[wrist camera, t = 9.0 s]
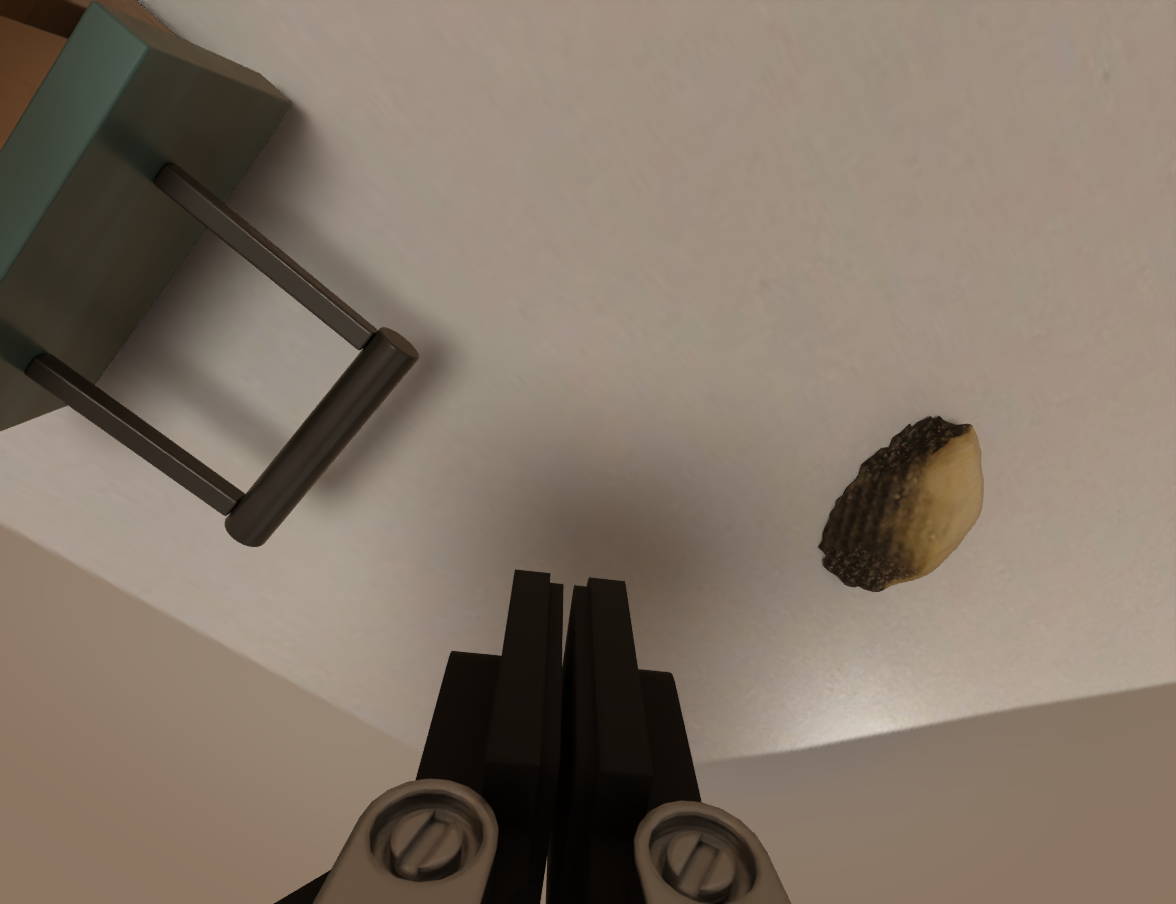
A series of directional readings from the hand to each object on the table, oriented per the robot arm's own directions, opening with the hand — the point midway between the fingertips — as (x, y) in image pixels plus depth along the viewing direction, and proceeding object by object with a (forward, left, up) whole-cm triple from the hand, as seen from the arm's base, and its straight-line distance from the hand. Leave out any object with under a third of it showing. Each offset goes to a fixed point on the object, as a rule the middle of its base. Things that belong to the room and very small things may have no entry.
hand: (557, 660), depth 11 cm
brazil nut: (+5, -11, -14) cm, 19 cm away
